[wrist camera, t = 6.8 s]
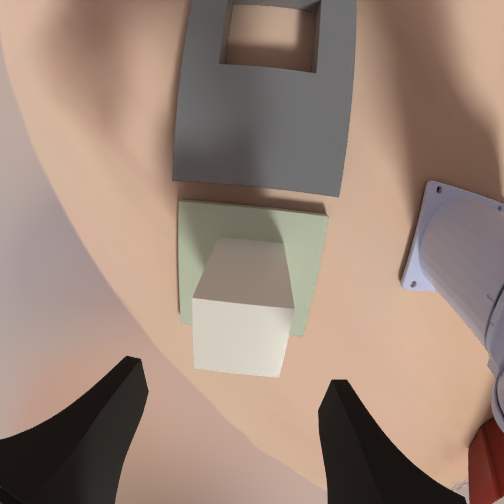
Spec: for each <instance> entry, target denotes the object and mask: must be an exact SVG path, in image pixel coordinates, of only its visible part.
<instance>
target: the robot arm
mask: <svg viewBox="0 0 504 504" xmlns="http://www.w3.org/2000/svg"><path fill="white" fill-rule="evenodd" d="M438 186H439V191H438V192H437V187H438ZM498 207H499V208H498ZM413 281H414V283H413V284H412V285H411V283H412V282H413ZM400 284H401V286H402V288H403V289H405V290H418V291H435V292H439V293H440V295H441V296H442V297H443V298H444V299H445V300H446V301H447V302H448V304H449V305H450V306H451V307H452V308H453V309H454V310H455V312H456V313H457V314H458V315H459V316H460V318H461V319H462V320H463V321H464V322H465V323H466V325H467V326H468V327H469V328H470V330H471V331H472V332H473V333H474V335H475V336H476V337H477V338H478V340H479V341H480V342H481V343H482V345H483V346H484V347H485V349H486V350H487V351H488V353H489V361H488V364H487V366H488V367H489V369H490V370H491V372H492V373H493V375H494V376H495V378H496V379H495V381H494V383H493V387H492V391H491V407H492V412H493V415H494V418H495V420H496V422H497V424H498V426H499V427H500V428H501V430H502V431H503V432H504V204H503V203H501V202H498V201H495V200H493V199H490V198H487V197H484V196H481V195H479V194H476V193H473V192H470V191H467V190H464V189H460V188H457V187H454V186H451V185H447V184H444V183H441V182H437V181H434V180H430V181H428V182H427V184H426V187H425V192H424V197H423V202H422V206H421V211H420V215H419V219H418V223H417V227H416V231H415V235H414V239H413V243H412V246H411V250H410V253H409V257H408V260H407V263H406V267H405V270H404V273H403V276H402V279H401V283H400ZM148 392H149V391H148V387H147V383H146V379H145V375H144V370H143V366H142V361H141V359H139V358H134V357H130V356H126V357H125V358H123V359H122V360H121V361H120V362H119V363H118V364H117V365H116V366H115V367H114V368H113V369H112V370H111V371H110V372H109V373H108V374H106V376H104V377H103V378H102V379H101V380H100V381H99V382H98V383H96V384H95V385H94V386H93V387H92V388H91V389H90V390H89V391H87V392H86V393H85V394H84V395H82V396H81V397H80V398H79V399H77V400H76V401H75V402H74V403H72V404H71V405H70V406H68V407H67V408H66V409H64V410H62V411H61V412H59V413H58V414H57V415H55V416H53V417H52V418H50V419H48V420H46V421H45V422H43V423H41V424H39V425H37V426H36V427H33V428H31V429H29V430H26V431H24V432H21V433H19V434H17V435H14V436H11V437H9V438H5V439H1V440H0V504H115V498H116V493H117V488H118V483H119V478H120V474H121V470H122V466H123V463H124V460H125V456H126V454H127V451H128V449H129V446H130V444H131V441H132V439H133V437H134V434H135V432H136V429H137V427H138V424H139V422H140V419H141V417H142V414H143V411H144V407H145V404H146V400H147V396H148ZM318 418H319V435H320V441H321V447H322V453H323V459H324V465H325V472H326V478H327V491H328V504H467V503H466V500H465V497H463V496H461V495H459V494H457V493H455V492H453V491H451V490H449V489H448V488H446V487H444V486H443V485H441V484H439V483H438V482H436V481H435V480H433V479H432V478H431V477H429V476H428V475H427V474H425V473H424V472H423V471H422V470H420V469H419V468H418V467H417V466H415V465H414V464H413V463H412V462H411V461H410V460H409V459H408V458H407V457H406V456H405V455H404V454H403V453H402V452H401V451H400V450H399V449H398V448H397V447H396V446H395V445H394V444H393V443H392V442H391V440H390V439H389V438H388V437H387V436H386V434H385V433H384V432H383V431H382V429H381V428H380V427H379V426H378V424H377V423H376V422H375V420H374V419H373V417H372V416H371V415H370V413H369V412H368V410H367V409H366V408H365V406H364V405H363V403H362V402H361V400H360V399H359V397H358V396H357V394H356V393H355V391H354V390H353V388H352V386H351V385H350V383H349V382H348V381H347V380H331V382H330V385H329V387H328V390H327V392H326V394H325V396H324V399H323V401H322V403H321V405H320V407H319V410H318Z"/></svg>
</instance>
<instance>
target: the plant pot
mask: <svg viewBox="0 0 504 504" xmlns="http://www.w3.org/2000/svg"><path fill="white" fill-rule="evenodd" d="M468 472H469V500H470V504H492V503H494V502H495V501H497V500H499V499H500V498H502V497H503V496H504V432H503V431H502V430H501V428H500V427H499V426H498V424H497V422H496V420H495V418H493V419H492V420H490V421H489V422H487V423H486V424H484V425H483V426H482V427H481V428H480V430H479V432H478V434H477V435H476V437H475V439H474V441H473V442H472V444H471V446H470V448H469V450H468Z"/></svg>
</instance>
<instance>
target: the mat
mask: <svg viewBox="0 0 504 504" xmlns="http://www.w3.org/2000/svg"><path fill="white" fill-rule="evenodd" d="M328 219H329V216H328V215H327V214H322V213H314V212H306V211H298V210H290V209H281V208H272V207H263V206H253V205H243V204H232V203H221V202H209V201H197V200H183V199H181V200H180V201H179V213H178V264H179V299H180V320H181V324H188V325H193V320H192V297H193V295H194V292H195V290H196V287H197V285H198V283H199V280H200V278H201V276H202V273H203V271H204V269H205V266H206V264H207V262H208V259H209V257H210V255H211V252H212V250H213V248H214V245H215V243H216V241H217V239H218V237H227V238H236V239H246V240H256V241H265V242H274V243H284V246H285V252H286V258H287V264H288V270H289V276H290V282H291V288H292V295H293V301H294V308H295V310H294V314H293V319H292V324H291V328H290V333H289V335H291V336H303V335H304V331H305V327H306V323H307V319H308V315H309V311H310V306H311V302H312V298H313V293H314V289H315V284H316V280H317V275H318V271H319V266H320V261H321V256H322V251H323V246H324V241H325V236H326V230H327V225H328Z"/></svg>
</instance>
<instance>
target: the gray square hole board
mask: <svg viewBox="0 0 504 504" xmlns="http://www.w3.org/2000/svg"><path fill="white" fill-rule="evenodd" d="M233 4H247V5H264V6H276V7H285V8H293V9H300V10H306V11H312V12H316V14H315V30H314V44H313V57H312V68H311V73H310V72H303V71H297V70H289V69H281V68H272V67H262V66H249V65H230V64H225V60H226V52H227V44H228V36H229V29H230V22H231V15H232V8H233ZM355 45H356V0H192V3H191V8H190V13H189V19H188V25H187V31H186V37H185V44H184V50H183V58H182V65H181V73H180V82H179V91H178V101H177V111H176V124H175V137H174V154H173V176H172V181H188V182H203V183H217V184H229V185H241V186H251V187H261V188H270V189H279V190H288V191H296V192H304V193H311V194H319V195H326V196H333V197H339V194H340V188H341V181H342V175H343V168H344V161H345V154H346V147H347V139H348V130H349V122H350V112H351V102H352V91H353V79H354V64H355Z"/></svg>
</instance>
